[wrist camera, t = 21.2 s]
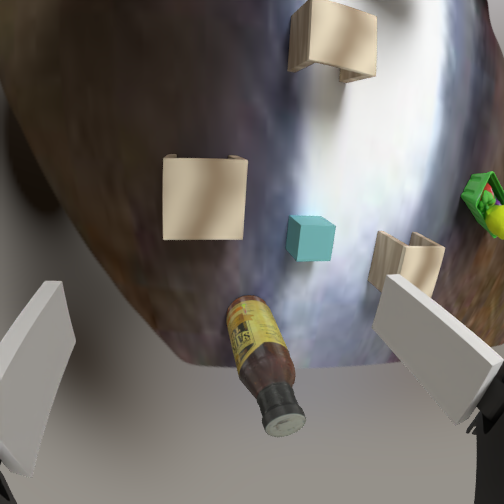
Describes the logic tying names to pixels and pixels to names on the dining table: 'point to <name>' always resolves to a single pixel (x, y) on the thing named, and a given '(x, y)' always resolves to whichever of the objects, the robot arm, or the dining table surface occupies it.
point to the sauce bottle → (264, 364)
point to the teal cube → (310, 238)
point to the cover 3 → (406, 261)
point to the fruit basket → (486, 202)
